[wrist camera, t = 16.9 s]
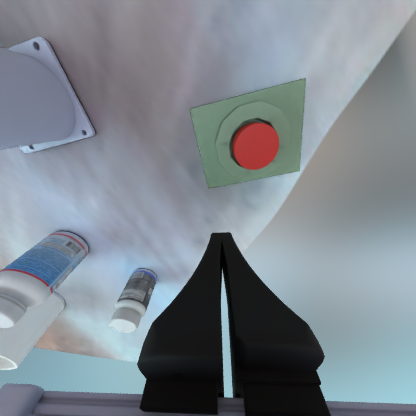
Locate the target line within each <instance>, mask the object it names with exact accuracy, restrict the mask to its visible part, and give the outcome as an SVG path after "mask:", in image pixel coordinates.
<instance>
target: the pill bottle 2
mask: <svg viewBox="0 0 416 416" xmlns="http://www.w3.org/2000/svg"><path fill="white" fill-rule="evenodd" d="M156 281H157V277H156V275H155V274H154V273H153V272H152V271H150V270H147V269H137V270H135V271H134V272H133V273H132V275H131V276H130V278H129V280H128V282H127V284H126V286H125V288H124V290H123V292H122V294H121V296H120V297H119V299H118V301H117V303H116V305H115V310H116V311H115V312H114V314H113V316H112V318H111V320H110V323H109V325H110V326H111V328H113V329H114V330H116V331H119V332H122V333H132V332H134V331H136V330H137V327H138V325H139V323H140V319H141V317H142V316H143V315H144V314H145V312H146V310H147V307H148V304H149V301H150V298H151V295H152V292H153V289H154V286H155V284H156Z"/></svg>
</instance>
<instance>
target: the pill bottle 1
mask: <svg viewBox="0 0 416 416" xmlns="http://www.w3.org/2000/svg"><path fill="white" fill-rule="evenodd" d="M87 254H88V246H87V244H86V243H85V242H84V240H82V239H81V238H80V237H79V236H77V235H75V234H73V233H69V232H54V233H52V234H50V235H49V236H48V237H46V238H45V239H43V240H42V241H41V242H39V243H38V244H37V245H35V246H34V247H33V248H31V249H30V250H29V251H27V252H26V253H24V254H23V255H22V256H20V257H19V258H18V259H16V260H15V261H13V262H12V263H11V264H9V265H8V266H7V267H5V268H4V269H3V270H1V271H0V328H9V327H12V326H14V325H15V324H16V323H17V322H18V321H19V320H20V319H21V318H22V317H23V316H24V315H25V313H26V311H27V308H28V307H34V306H37V305H39V304H41V303H43V302H44V301H45V300H46V299H47V298H48V297H49V296H50V295H51V294H52V293H53V292H54V291H55V290H56V289H57V287H58V286H59V285H60V284H61V283H62V282H63V281H64V280H65V279H66V278H67V276H68V275H69V274H70V273H71V272H72V271H73V270H74V269H75V268H76V266H77V265H78V264H79V263H80V262H81V261H82V260H83V259H84V258H85V256H86V255H87Z"/></svg>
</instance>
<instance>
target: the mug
mask: <svg viewBox="0 0 416 416" xmlns="http://www.w3.org/2000/svg"><path fill="white" fill-rule="evenodd" d="M64 307H65V302H64V300H63V298H62V297H61V296H60V295H58V294H57V293H55V292H53V293H52V294H51V295H50V296H49V297H48V298H47V299H46V300H45V301H44V302H43V303H41V304H39V305H37V306H34V307H28V308H27V311H26V313H25V315H24V316H23V317H22V318H21V319H20V320H19V321H18V322H17V323H16V324H15V325H14V326H12V327H9V328H0V370H12V369H16V368H17V367H18V365H19V364H20V363H21V362H22V360H23V359H24V358H25V357H26V355H27V354H28V353H29V352H30V350H31V349H32V348H33V346H34V345H35V344H36V343H37V341H38V340H39V339H40V338H41V336H42V335H43V334H44V332H45V331H46V330H47V329H48V327H49V326H50V325H51V324H52V322H53V321H54V320H55V318H56V317H57V316H58V315H59V313H60V312H61V311H62V310H63V308H64Z"/></svg>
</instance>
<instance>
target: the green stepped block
mask: <svg viewBox="0 0 416 416" xmlns="http://www.w3.org/2000/svg"><path fill="white" fill-rule="evenodd" d="M305 83H306V78H304V79H300V80H296V81H292V82H289V83H285V84H281V85H277V86H274V87H270V88H266V89H263V90H259V91H255V92H251V93H248V94H244V95H240V96H236V97H233V98H229V99H225V100H222V101H218V102H214V103H210V104H207V105H203V106H199V107H195V108H192V109H190V113H191V117H192V121H193V125H194V130H195V134H196V138H197V142H198V147H199V151H200V155H201V159H202V163H203V168H204V172H205V176H206V180H207V184H208V188H214V187H219V186H225V185H230V184H235V183H240V182H245V181H251V180H256V179H261V178H266V177H271V176H277V175H282V174H287V173H292V172H297V171H300V158H301V143H302V128H303V113H304V98H305ZM253 122H257V123H264V124H268V125H270V126H271V127H272V128H274V129H275V131H276V132H277V134H278V137H279V149H278V152H277V155H276V156H275V158H274V159H273V161H272V162H271V163H270V164H268V165H267V166H265V167H263V168H261V169H257V170H250V169H246V168H244V167H243V166H241V165H240V164H239V163H238V161H237V160H236V158H235V156H234V153H233V150H232V143H233V139H234V137H235V135H236V133H237V132H238V130H239V129H240V128H242V127H243V126H244V125H246V124H249V123H253Z"/></svg>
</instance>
